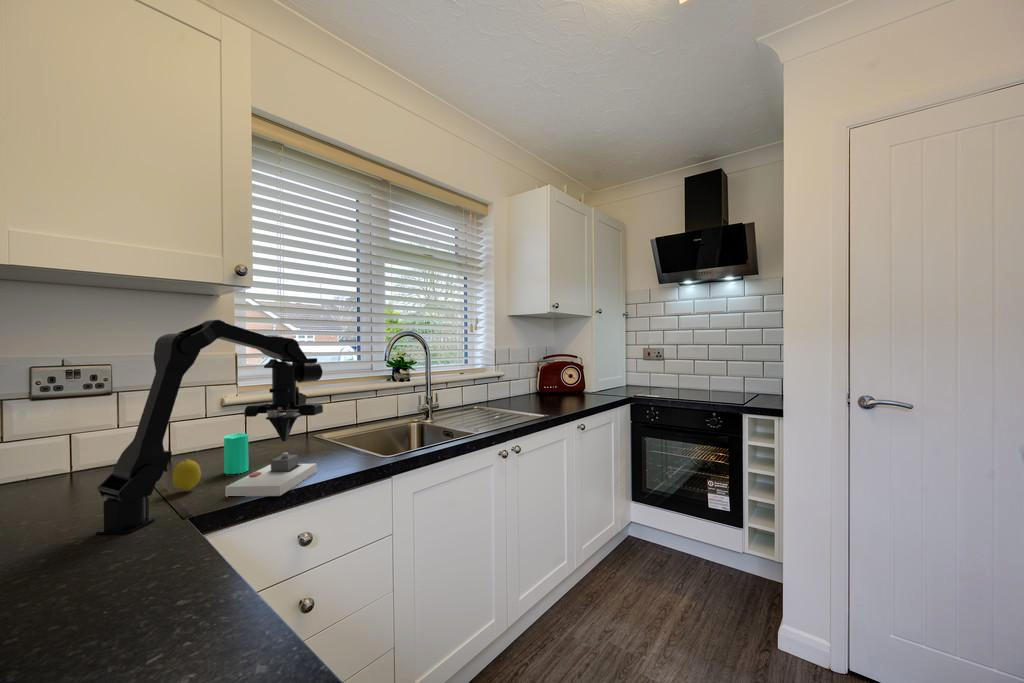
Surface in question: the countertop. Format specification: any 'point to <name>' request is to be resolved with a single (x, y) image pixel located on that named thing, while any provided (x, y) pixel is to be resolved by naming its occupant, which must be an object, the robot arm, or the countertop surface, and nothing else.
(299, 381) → the robot arm
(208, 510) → the countertop surface
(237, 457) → the candle
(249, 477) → the socket plate
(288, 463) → the plug
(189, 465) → the lemon
